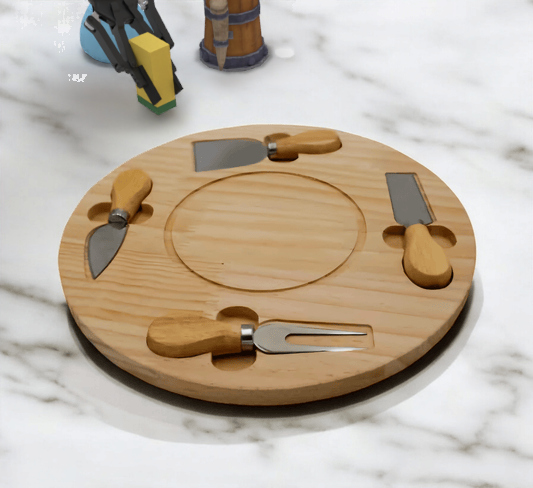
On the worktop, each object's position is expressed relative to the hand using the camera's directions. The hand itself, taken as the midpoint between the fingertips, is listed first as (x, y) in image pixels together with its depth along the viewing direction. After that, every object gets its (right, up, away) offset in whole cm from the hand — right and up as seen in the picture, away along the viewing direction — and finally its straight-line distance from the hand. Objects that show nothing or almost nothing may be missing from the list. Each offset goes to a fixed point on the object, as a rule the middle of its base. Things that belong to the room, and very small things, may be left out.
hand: (168, 96), depth 113 cm
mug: (+10, +12, +20) cm, 25 cm away
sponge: (-3, 0, +4) cm, 5 cm away
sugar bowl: (-14, +15, +23) cm, 30 cm away
